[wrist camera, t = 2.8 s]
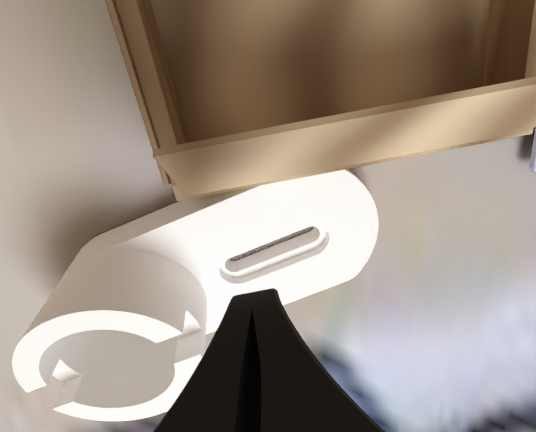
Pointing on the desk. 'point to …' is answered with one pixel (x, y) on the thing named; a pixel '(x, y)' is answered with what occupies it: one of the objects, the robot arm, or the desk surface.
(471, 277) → the desk surface
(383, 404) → the desk surface
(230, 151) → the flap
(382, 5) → the carton
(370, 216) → the bracket
